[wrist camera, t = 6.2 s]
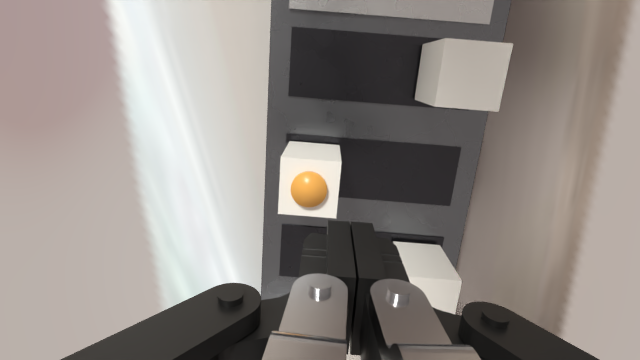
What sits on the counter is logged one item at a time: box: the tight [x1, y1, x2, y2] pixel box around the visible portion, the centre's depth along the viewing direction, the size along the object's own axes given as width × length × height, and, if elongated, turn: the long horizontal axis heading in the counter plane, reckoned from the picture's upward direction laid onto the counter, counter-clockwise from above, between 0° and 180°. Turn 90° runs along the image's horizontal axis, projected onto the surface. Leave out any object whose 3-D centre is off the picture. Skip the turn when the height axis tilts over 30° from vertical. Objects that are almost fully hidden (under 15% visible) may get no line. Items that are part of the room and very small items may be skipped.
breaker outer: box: [393, 241, 462, 314], centre depth 22 cm, size 3×3×4 cm
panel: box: [261, 0, 511, 300], centre depth 24 cm, size 24×13×2 cm, turn 176°
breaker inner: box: [415, 38, 513, 112], centre depth 19 cm, size 3×3×4 cm
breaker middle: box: [278, 141, 342, 219], centre depth 20 cm, size 3×3×4 cm
